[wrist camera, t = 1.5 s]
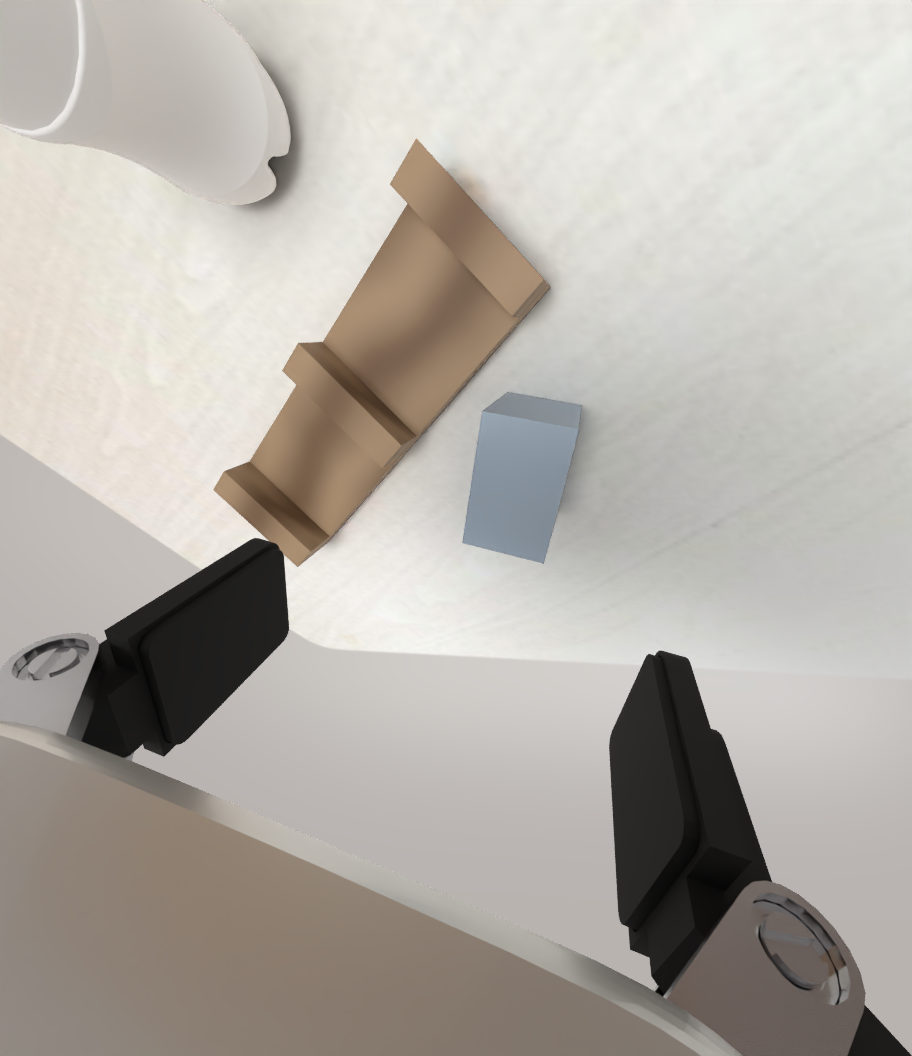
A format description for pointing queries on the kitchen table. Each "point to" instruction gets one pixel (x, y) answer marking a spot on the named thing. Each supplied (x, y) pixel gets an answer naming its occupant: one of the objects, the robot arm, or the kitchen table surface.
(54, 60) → the water bottle
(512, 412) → the blue-grey rectangular block
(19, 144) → the kitchen table surface
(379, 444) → the wooden divided rack
